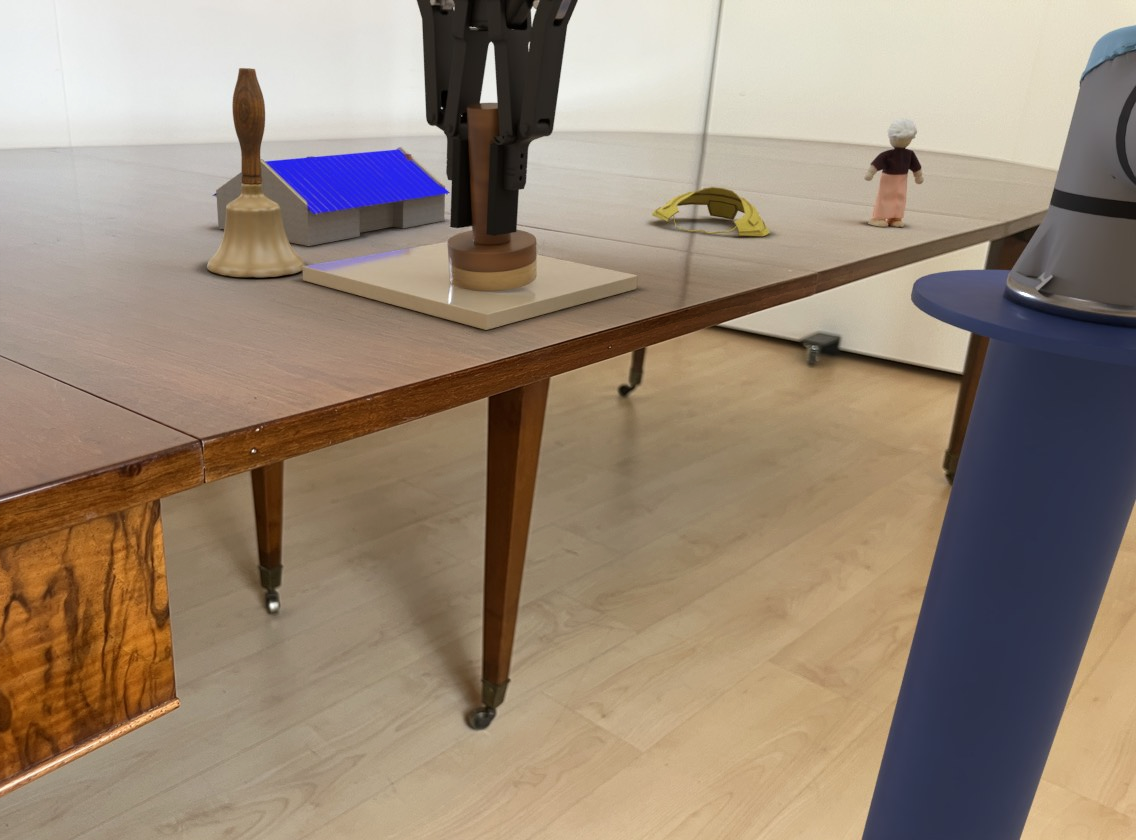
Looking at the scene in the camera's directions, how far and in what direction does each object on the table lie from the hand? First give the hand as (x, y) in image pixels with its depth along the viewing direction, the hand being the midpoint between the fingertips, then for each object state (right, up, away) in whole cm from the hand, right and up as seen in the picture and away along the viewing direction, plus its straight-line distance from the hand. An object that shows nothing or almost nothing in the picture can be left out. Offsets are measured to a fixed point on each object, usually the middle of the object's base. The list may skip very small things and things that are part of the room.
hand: (483, 228), depth 77 cm
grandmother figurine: (+50, +12, +48) cm, 70 cm away
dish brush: (+1, -3, +3) cm, 4 cm away
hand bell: (-20, -1, +9) cm, 22 cm away
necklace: (+27, +10, +41) cm, 50 cm away
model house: (-16, +8, +30) cm, 35 cm away
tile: (-1, -3, +7) cm, 8 cm away
